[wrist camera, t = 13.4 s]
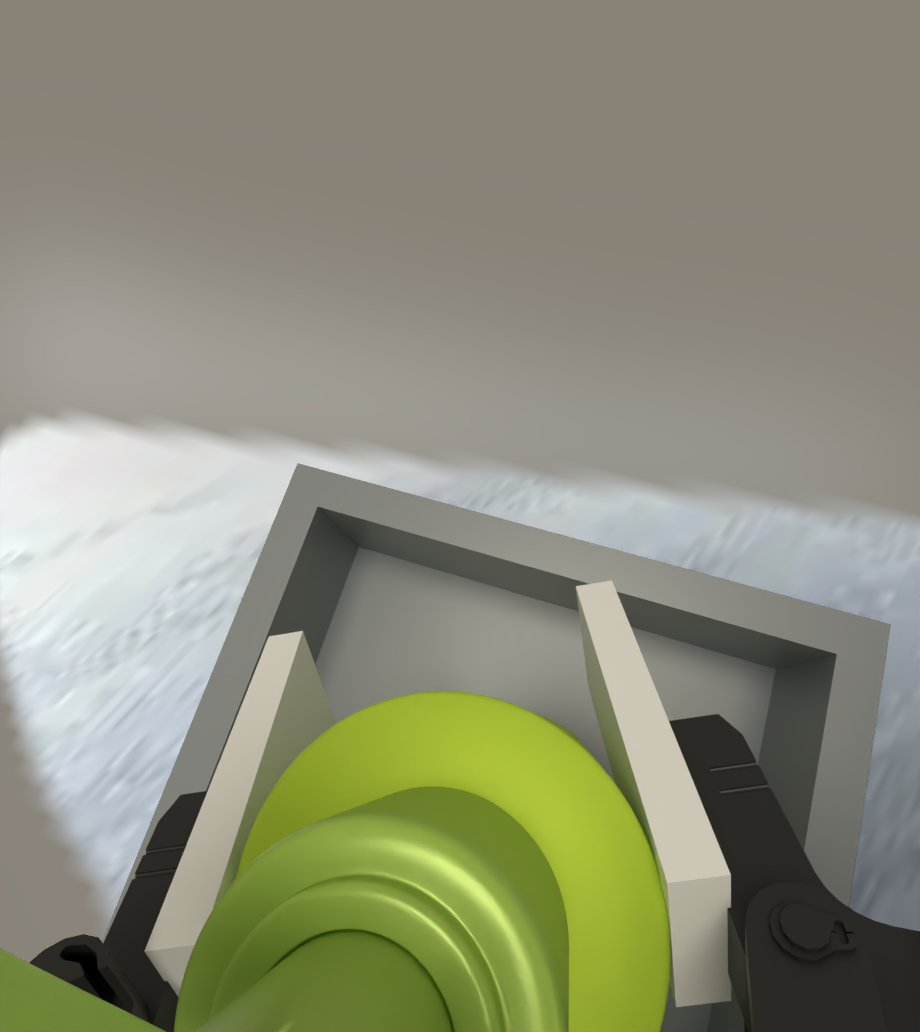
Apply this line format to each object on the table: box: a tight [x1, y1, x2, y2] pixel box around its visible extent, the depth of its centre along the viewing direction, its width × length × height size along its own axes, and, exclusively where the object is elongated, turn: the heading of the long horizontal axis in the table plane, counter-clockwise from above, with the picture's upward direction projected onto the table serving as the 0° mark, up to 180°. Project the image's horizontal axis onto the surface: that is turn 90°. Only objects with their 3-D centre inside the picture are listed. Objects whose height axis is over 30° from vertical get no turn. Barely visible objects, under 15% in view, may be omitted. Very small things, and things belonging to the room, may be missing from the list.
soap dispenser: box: [0, 691, 670, 1032], centre depth 12 cm, size 6×7×20 cm
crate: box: [102, 464, 891, 1032], centre depth 21 cm, size 18×16×6 cm
